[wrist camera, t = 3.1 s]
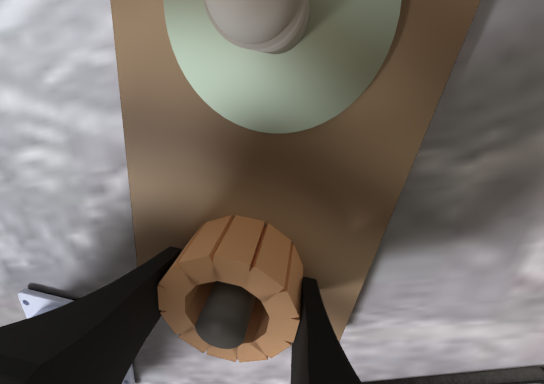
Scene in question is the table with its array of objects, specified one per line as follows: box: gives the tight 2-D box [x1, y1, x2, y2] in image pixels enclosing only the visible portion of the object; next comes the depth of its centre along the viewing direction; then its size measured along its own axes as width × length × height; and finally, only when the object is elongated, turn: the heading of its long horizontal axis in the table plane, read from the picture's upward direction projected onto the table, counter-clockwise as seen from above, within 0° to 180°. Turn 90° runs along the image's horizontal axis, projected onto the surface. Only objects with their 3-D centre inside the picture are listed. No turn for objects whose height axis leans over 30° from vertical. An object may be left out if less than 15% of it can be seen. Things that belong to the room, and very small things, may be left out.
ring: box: [157, 215, 303, 362], centre depth 13 cm, size 6×6×3 cm
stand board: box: [111, 0, 480, 349], centre depth 10 cm, size 20×12×6 cm, turn 171°
